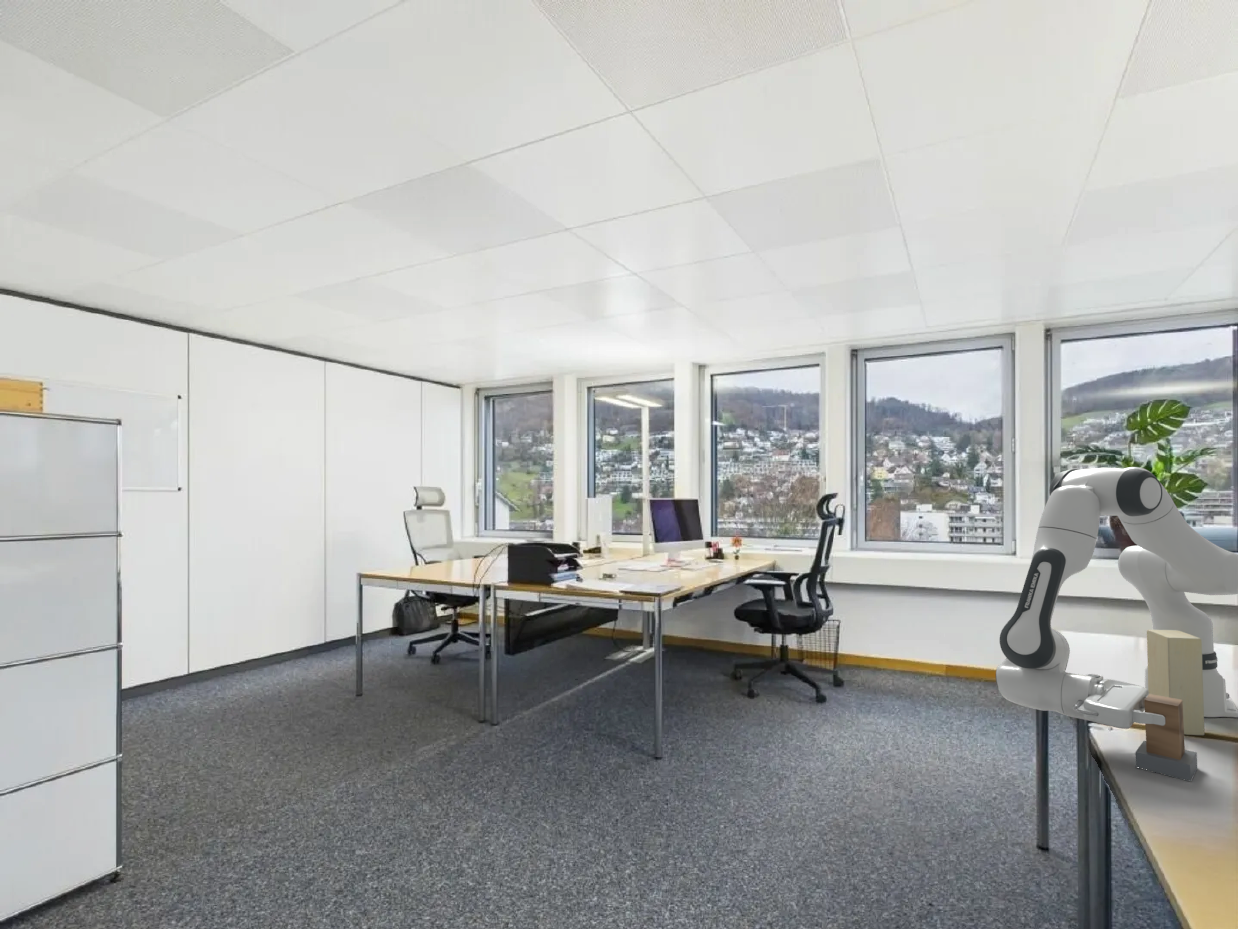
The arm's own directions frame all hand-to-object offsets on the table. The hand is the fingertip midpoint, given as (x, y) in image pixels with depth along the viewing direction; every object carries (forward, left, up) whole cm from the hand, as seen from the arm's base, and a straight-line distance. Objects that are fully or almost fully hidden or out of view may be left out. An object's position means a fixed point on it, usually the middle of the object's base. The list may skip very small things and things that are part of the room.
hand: (1170, 714), depth 125 cm
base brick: (0, -1, -10) cm, 11 cm away
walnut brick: (0, -1, -7) cm, 8 cm away
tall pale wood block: (-27, -3, -11) cm, 29 cm away
